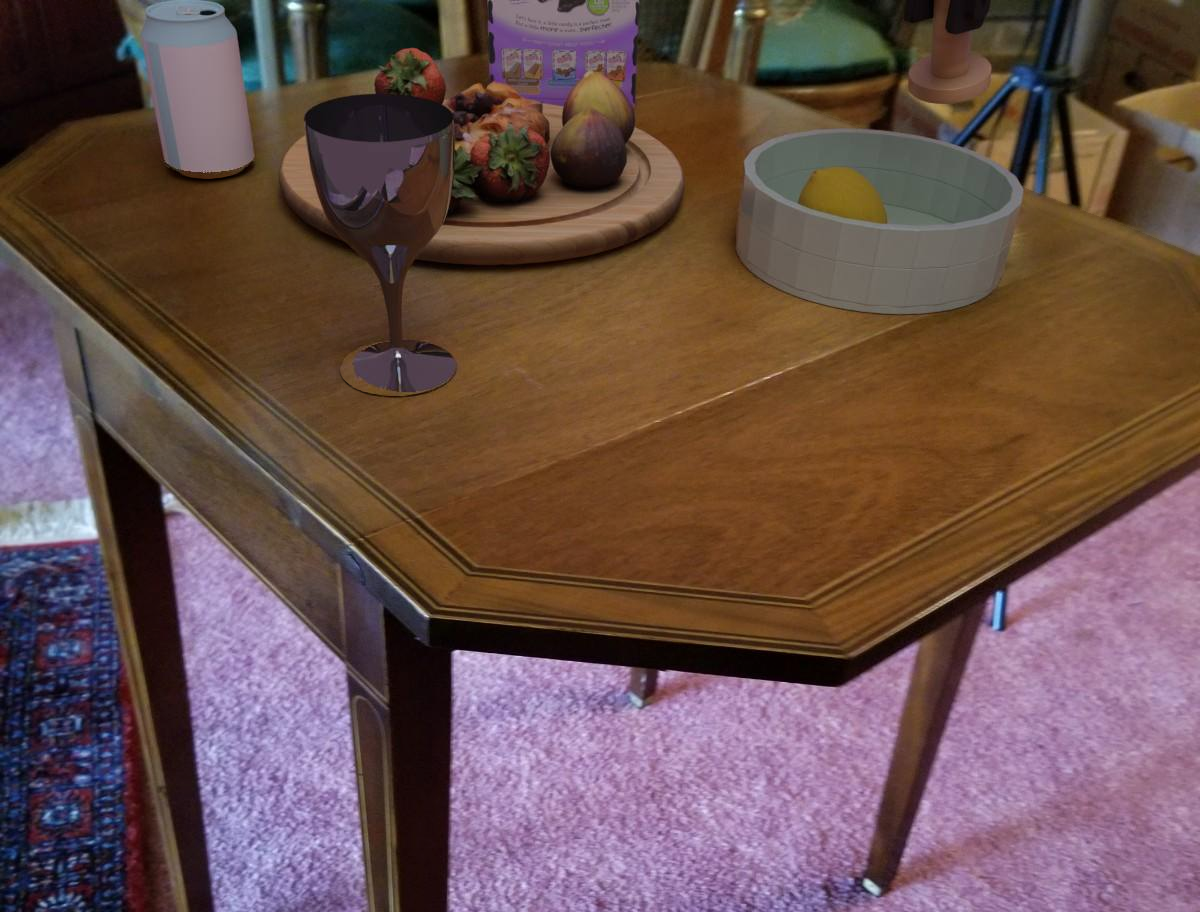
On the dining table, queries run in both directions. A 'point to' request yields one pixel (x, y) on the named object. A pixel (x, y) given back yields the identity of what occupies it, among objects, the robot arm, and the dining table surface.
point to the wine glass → (386, 209)
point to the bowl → (872, 250)
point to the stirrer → (948, 66)
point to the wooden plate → (526, 171)
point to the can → (197, 86)
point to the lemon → (843, 195)
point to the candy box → (562, 45)
